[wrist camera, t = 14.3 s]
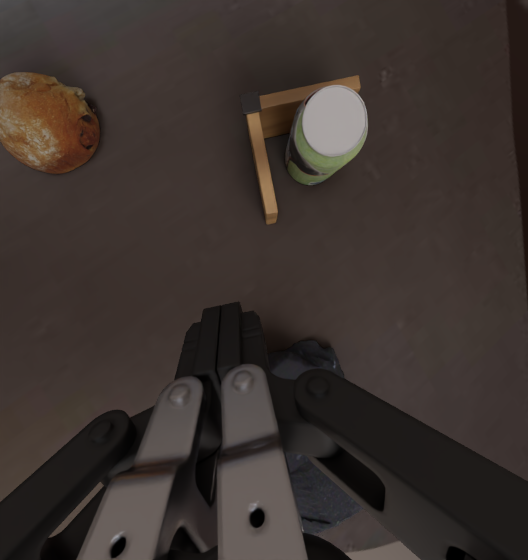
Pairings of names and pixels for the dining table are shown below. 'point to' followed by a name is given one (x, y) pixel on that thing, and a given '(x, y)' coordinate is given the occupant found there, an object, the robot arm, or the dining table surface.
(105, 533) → the robot arm
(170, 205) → the dining table surface
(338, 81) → the shelf corner
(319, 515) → the grommeted fabric pouch
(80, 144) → the bread roll
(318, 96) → the beverage can
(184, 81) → the dining table surface
